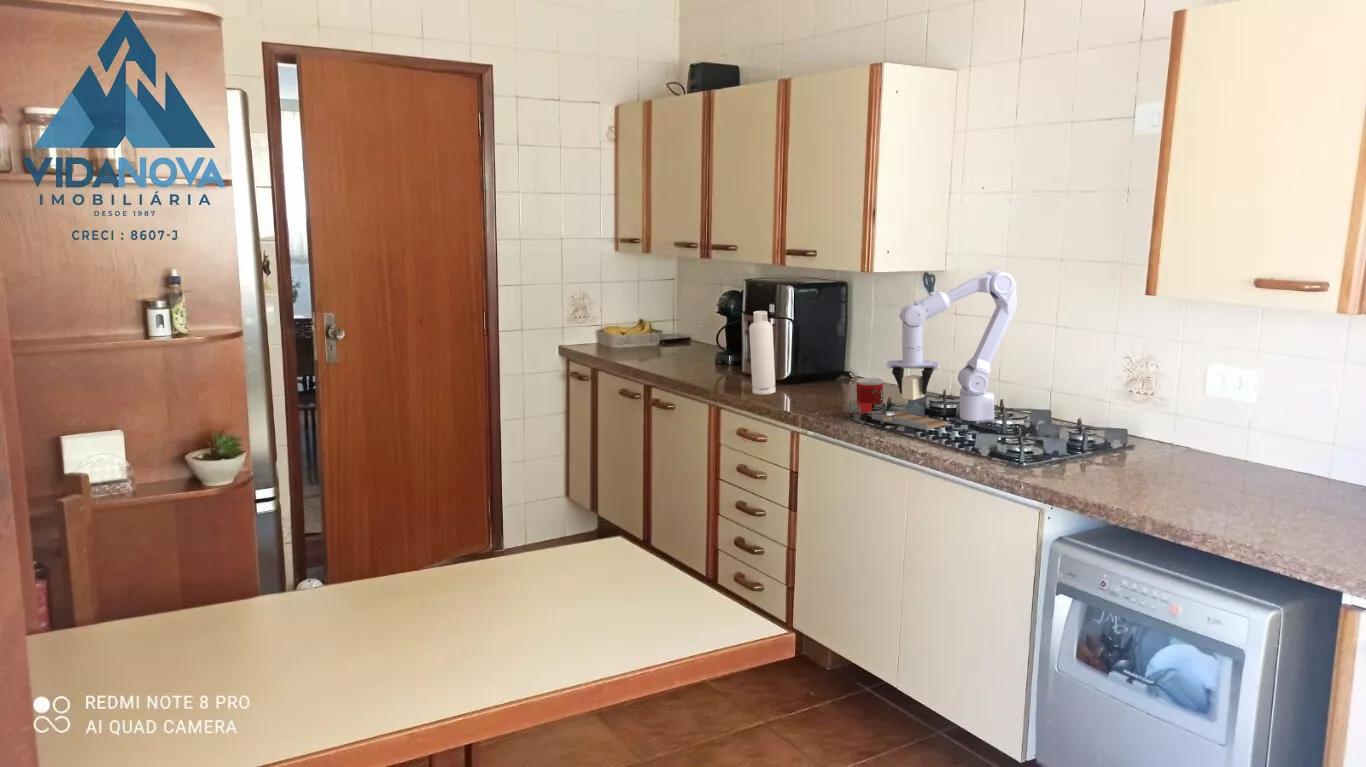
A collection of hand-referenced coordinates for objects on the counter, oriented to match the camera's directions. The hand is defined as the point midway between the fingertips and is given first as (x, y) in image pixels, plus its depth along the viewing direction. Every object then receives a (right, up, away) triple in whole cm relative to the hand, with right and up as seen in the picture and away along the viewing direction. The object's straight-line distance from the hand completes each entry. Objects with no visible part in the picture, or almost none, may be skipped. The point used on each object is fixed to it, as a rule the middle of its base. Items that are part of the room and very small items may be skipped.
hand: (913, 393), depth 271 cm
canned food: (-9, -7, +17) cm, 20 cm away
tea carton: (0, -1, 0) cm, 1 cm away
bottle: (-38, 0, +57) cm, 69 cm away
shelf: (0, -9, +2) cm, 10 cm away
